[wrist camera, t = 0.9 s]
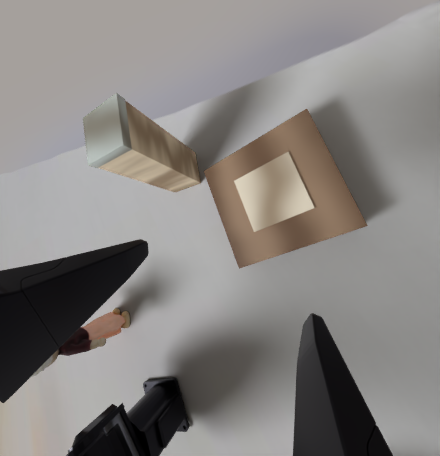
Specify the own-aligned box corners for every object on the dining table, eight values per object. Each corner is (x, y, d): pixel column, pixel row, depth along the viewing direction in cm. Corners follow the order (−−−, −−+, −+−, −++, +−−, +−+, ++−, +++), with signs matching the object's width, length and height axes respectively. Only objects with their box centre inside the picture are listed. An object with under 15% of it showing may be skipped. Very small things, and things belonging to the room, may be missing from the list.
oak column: (201, 183, 26) (123, 145, 15) (174, 192, 27) (88, 165, 16) (195, 152, 26) (116, 92, 15) (170, 163, 28) (82, 118, 17)
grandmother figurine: (108, 327, 33) (2, 379, 21) (107, 305, 33) (1, 344, 21) (140, 332, 29) (35, 397, 18) (139, 308, 30) (34, 356, 18)
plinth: (247, 264, 22) (238, 268, 20) (214, 177, 25) (202, 170, 22) (357, 226, 18) (368, 225, 15) (306, 125, 20) (306, 107, 17)
